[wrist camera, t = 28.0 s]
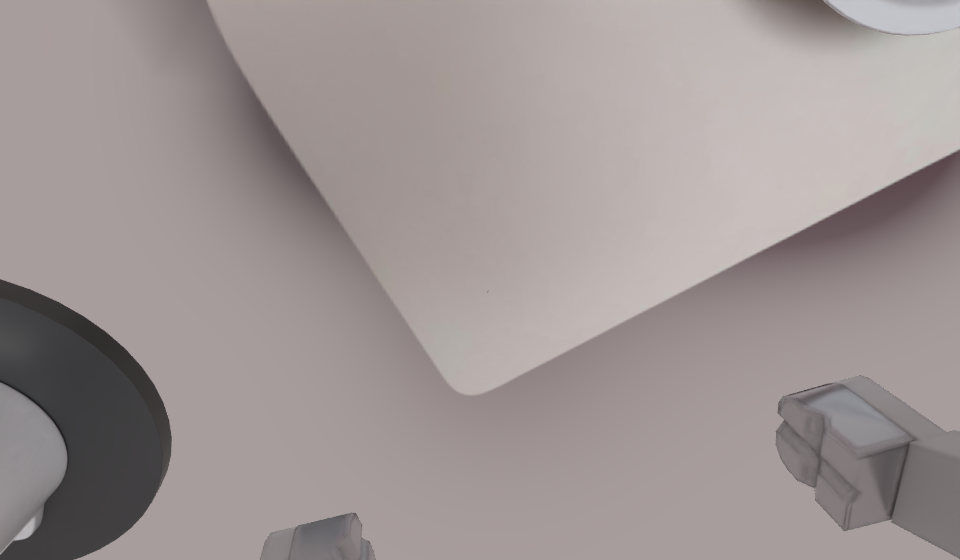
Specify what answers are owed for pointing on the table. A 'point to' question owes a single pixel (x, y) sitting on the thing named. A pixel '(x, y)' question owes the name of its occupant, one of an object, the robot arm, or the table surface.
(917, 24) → the white sink basin
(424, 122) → the table surface
